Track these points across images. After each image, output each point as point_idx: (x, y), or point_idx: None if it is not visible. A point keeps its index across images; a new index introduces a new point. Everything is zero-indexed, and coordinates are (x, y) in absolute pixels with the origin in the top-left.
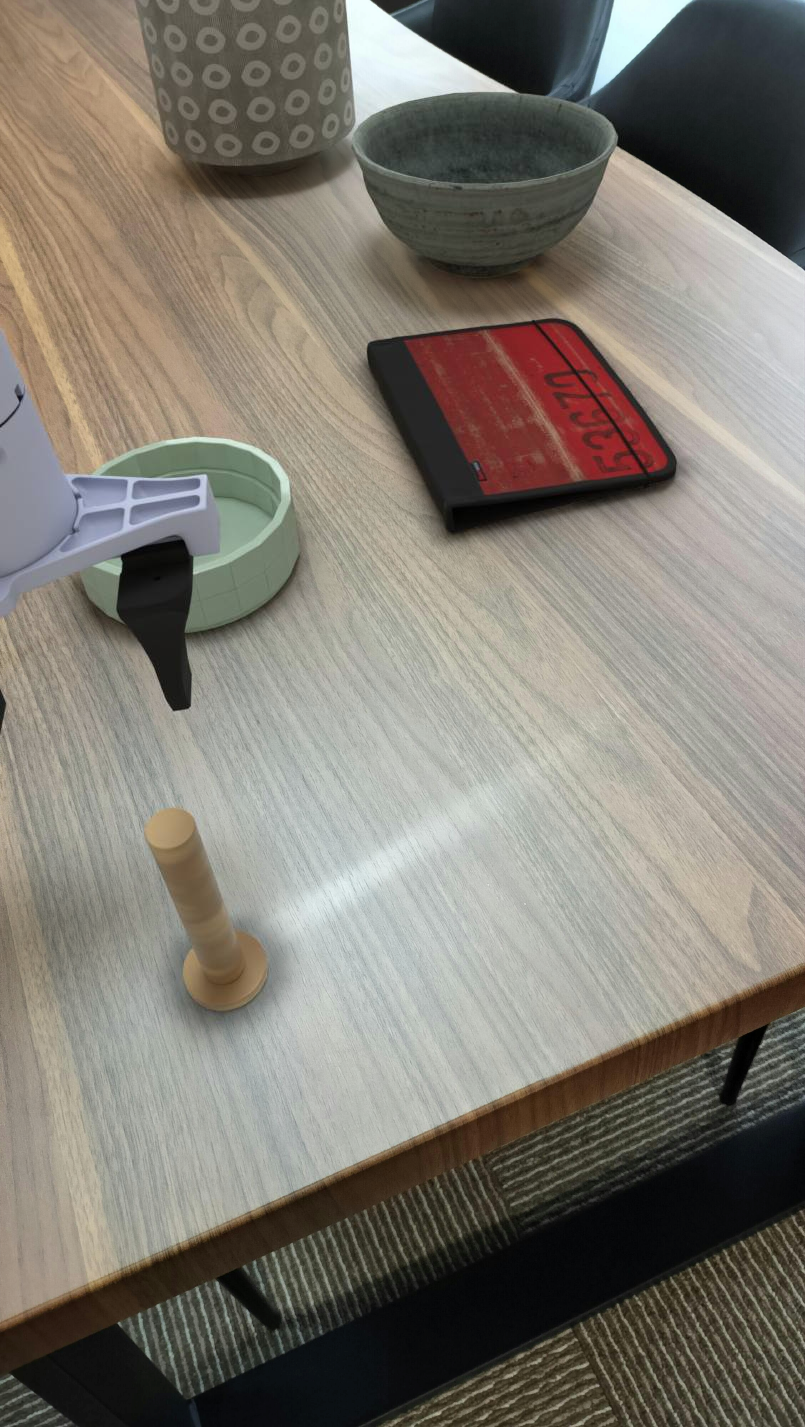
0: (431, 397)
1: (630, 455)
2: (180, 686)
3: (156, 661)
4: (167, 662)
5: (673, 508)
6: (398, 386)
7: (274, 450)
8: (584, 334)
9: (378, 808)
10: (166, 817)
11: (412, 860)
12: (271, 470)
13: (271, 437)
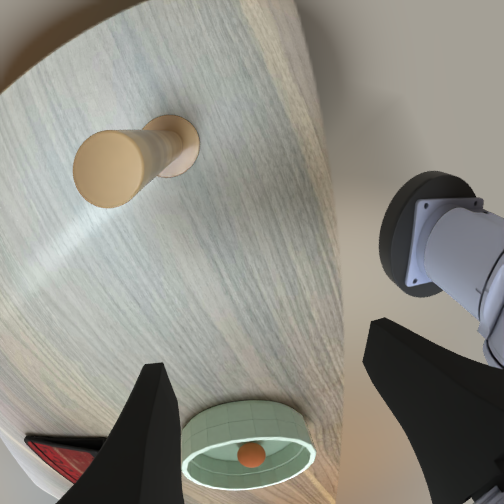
0: None
1: (41, 450)
2: (130, 397)
3: (138, 444)
4: (123, 440)
5: (19, 424)
6: None
7: None
8: None
9: (84, 278)
10: (114, 189)
11: (57, 238)
12: (198, 480)
13: None
